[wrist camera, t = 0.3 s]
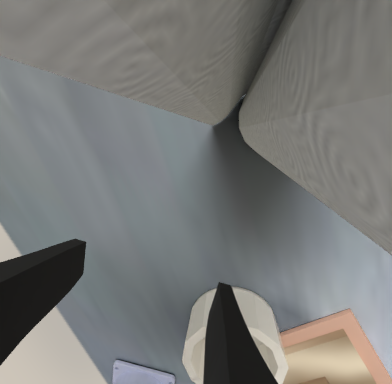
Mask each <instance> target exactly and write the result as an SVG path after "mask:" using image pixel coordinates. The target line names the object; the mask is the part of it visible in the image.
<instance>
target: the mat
mask: <svg viewBox="0 0 392 384" xmlns="http://www.w3.org/2000/svg"><path fill="white" fill-rule="evenodd" d="M340 329H344V331H345V332H346V334H347V336H348V337H349V339H350V341H351V342H352V344H353V346H354V347H355V349H356V351H357V352H358V354H359V356H360V357H361V359H362V361H363V362H364V364H365V365H366V367H367V369H368V370H369V372H370V374H371V375H372V377H373V379H374V380H375V382H376V384H392V379H391V377H390V376H389V374H388V372H387V371H386V369H385V367H384V365H383V364H382V362H381V360H380V359H379V357H378V355H377V354H376V352H375V350H374V348H373V347H372V345H371V343H370V342H369V340H368V338H367V337H366V335H365V333H364V331H363V330H362V328H361V326H360V325H359V323H358V321H357V320H356V318H355V316H354V314H353V313H352V311H351V310H350V309H347V310H344V311H341V312H339V313H336V314H333V315H330V316H327V317H324V318H321V319H318V320H315V321H313V322H310V323H307V324H304V325H301V326H298V327H295V328H292V329H289V330H287V331H284V332H281V333H280V336H281V340H282V344H283V348H285V347H288V346H291V345H294V344H297V343H300V342H303V341H306V340H309V339H312V338H315V337H318V336H322V335H325V334H328V333H331V332H334V331H337V330H340Z"/></svg>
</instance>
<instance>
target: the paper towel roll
mask: <svg viewBox="0 0 392 384" xmlns="http://www.w3.org/2000/svg"><path fill="white" fill-rule="evenodd" d="M0 56H2V57H5V58H8V59H11V60H14V61H17V62H20V63H23V64H26V65H30V66H33V67H36V68H39V69H42V70H45V71H48V72H51V73H54V74H57V75H60V76H63V77H66V78H69V79H72V80H75V81H78V82H81V83H84V84H87V85H90V86H94V87H97V88H100V89H103V90H106V91H109V92H112V93H115V94H118V95H121V96H124V97H127V98H130V99H133V100H136V101H139V102H142V103H145V104H148V105H151V106H155V107H158V108H161V109H164V110H167V111H170V112H173V113H176V114H179V115H182V116H185V117H188V118H191V119H194V120H197V121H200V122H203V123H206V124H209V125H212V126H213V125H215V124H217V123H219V122H221V121H222V120H223V119H224V118H225V117H226V116H227V115H228V114H229V113H230V112H231V111H232V109H233V108H234V107H235V105H236V104H237V102H238V101H239V100H240V98H241V97H242V96H243V95H245V94H246V95H245V97H244V100H243V103H242V106H241V108H240V111H239V129H240V131H241V134H242V136H243V138H244V141H245V142H246V143H247V144H248V145H249V146H250V147H251V148H252V149H253V150H254V151H256V152H257V153H258V154H259V155H261V156H262V157H263V158H265V159H266V160H267V161H269V162H270V163H271V164H273V165H274V166H275V167H277V168H278V169H279V170H280V171H282V172H283V173H284V174H286V175H287V176H288V177H290V178H291V179H292V180H294V181H295V182H296V183H298V184H299V185H300V186H302V187H303V188H304V189H305V190H307V191H308V192H309V193H311V194H312V195H313V196H315V197H316V198H317V199H319V200H320V201H321V202H323V203H324V204H325V205H326V206H328V207H329V208H330V209H332V210H333V211H334V212H336V213H337V214H338V215H340V216H341V217H342V218H344V219H345V220H346V221H347V222H349V223H350V224H351V225H353V226H354V227H355V228H357V229H358V230H359V231H361V232H362V233H363V234H365V235H366V236H367V237H368V238H370V239H371V240H372V241H374V242H375V243H376V244H378V245H379V246H380V247H382V248H383V249H384V250H386V251H387V252H388V253H389V254H391V255H392V0H0Z"/></svg>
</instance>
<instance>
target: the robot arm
mask: <svg viewBox="0 0 392 384" xmlns="http://www.w3.org/2000/svg"><path fill="white" fill-rule="evenodd" d="M85 249H86V242H84V241H81V240H78V239H73V240H69V241H66V242H63V243H60V244H57V245H54V246H51V247H48V248H45V249H42V250H39V251H36V252H33V253H30V254H27V255H24V256H20V257H17V258H14V259H11V260H7V261H4V262H0V365H1V364H2V363H3V362H4V361H5V359H6V358H7V357H8V356H9V354H10V353H11V352H12V351H13V350H14V349H15V347H16V346H17V345H18V344H19V343H20V341H21V340H22V339H23V338H24V337H25V336H26V335H27V334H28V333H29V332H30V331H31V330H32V329H33V327H35V326H36V324H38V323H39V322H40V321H41V320H42V319H43V318H44V317H45V316H46V315H47V314H48V313H49V312H50V311H51V310H52V309H53V308H54V307H55V306H56V305H57V304H58V303H59V302H60V301H61V300H62V299H63V298H64V297H65V295H66V294H67V293H68V292H69V291H70V290H71V289H72V288H73V286H74V285H75V284H76V283H77V281H78V280H79V279H80V277H81V276H82V275H83V270H84V259H85ZM112 384H175V376H174V375H172V374H168V373H165V372H161V371H157V370H153V369H150V368H146V367H142V366H139V365H135V364H131V363H128V362H124V361H120V360H115V362H114V364H113V381H112ZM203 384H278V382H277V381H276V379H275V378H274V376H273V374H272V373H271V371H270V369H269V368H268V366H267V364H266V362H265V361H264V359H263V357H262V355H261V354H260V352H259V350H258V348H257V346H256V344H255V342H254V340H253V338H252V336H251V334H250V332H249V329H248V327H247V325H246V323H245V320H244V318H243V316H242V313H241V311H240V308H239V306H238V303H237V300H236V298H235V295H234V292H233V289H232V287H231V286H230V285H227V284H224V283H220V282H219V284H218V287H217V290H216V293H215V296H214V299H213V302H212V305H211V308H210V311H209V315H208V321H207V328H206V335H205V355H204V376H203Z"/></svg>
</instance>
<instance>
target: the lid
mask: <svg viewBox="0 0 392 384" xmlns="http://www.w3.org/2000/svg"><path fill="white" fill-rule="evenodd" d="M284 352H285V356H286V360H287V363H288V367H289V369H288V371H287V374H286V376H285V379H284V381H283V384H376V382H375V380H374V379H373V377H372V375H371V374H370V372H369V370H368V369H367V367H366V365H365V364H364V362H363V361H362V359H361V357H360V356H359V354H358V352H357V351H356V349H355V347H354V346H353V344H352V342H351V341H350V339H349V337H348V336H347V334H346V332H345V331H344V329H340V330H337V331H334V332H331V333H328V334H325V335H322V336H318V337H315V338H312V339H309V340H306V341H303V342H300V343H297V344H294V345H291V346H288V347H285V348H284Z"/></svg>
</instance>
